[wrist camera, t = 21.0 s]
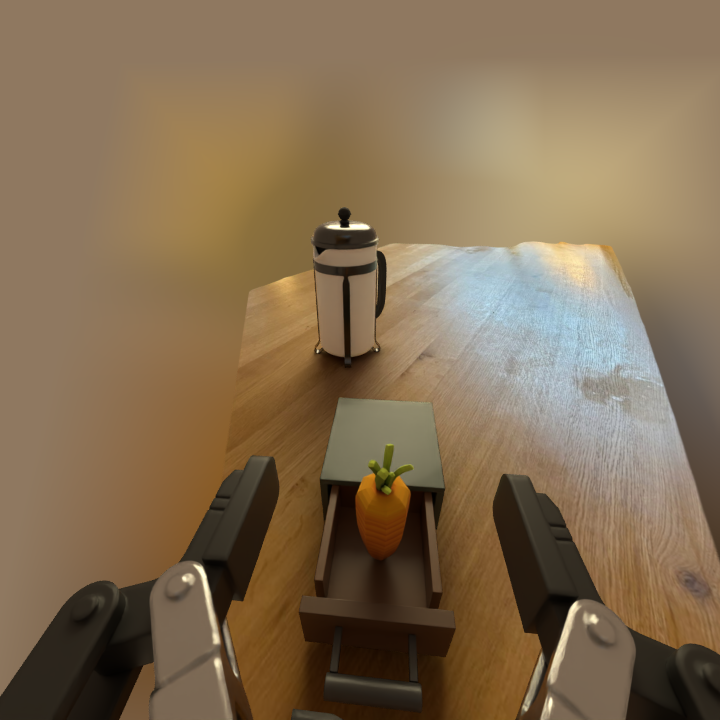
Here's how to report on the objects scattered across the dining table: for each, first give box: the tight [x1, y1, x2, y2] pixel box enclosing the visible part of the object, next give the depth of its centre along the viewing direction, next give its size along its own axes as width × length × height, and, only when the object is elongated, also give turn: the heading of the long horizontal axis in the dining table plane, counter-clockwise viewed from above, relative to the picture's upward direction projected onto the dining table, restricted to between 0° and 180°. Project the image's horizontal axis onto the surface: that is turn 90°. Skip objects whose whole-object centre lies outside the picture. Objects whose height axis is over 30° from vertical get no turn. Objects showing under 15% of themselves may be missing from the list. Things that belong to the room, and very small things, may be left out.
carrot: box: [355, 444, 414, 561], centre depth 31 cm, size 5×5×15 cm
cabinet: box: [320, 398, 445, 530], centre depth 44 cm, size 15×14×8 cm
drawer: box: [299, 485, 456, 713], centre depth 31 cm, size 18×12×6 cm
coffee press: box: [311, 207, 386, 368], centre depth 69 cm, size 17×16×30 cm
